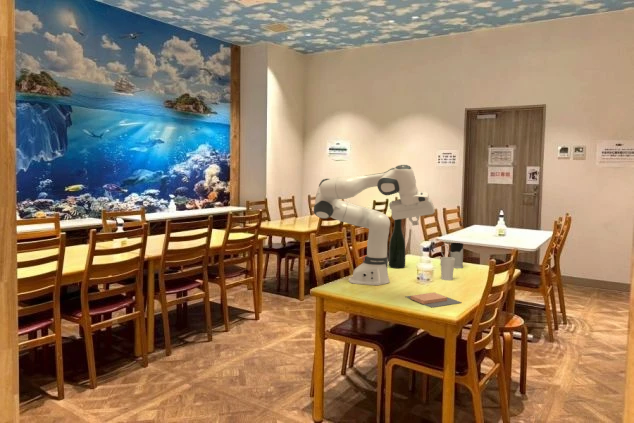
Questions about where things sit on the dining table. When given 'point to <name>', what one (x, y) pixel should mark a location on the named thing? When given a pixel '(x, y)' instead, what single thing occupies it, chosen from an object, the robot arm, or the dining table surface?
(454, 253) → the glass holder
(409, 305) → the dining table surface
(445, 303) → the mat
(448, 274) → the cup
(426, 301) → the tile
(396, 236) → the dark green bottle
